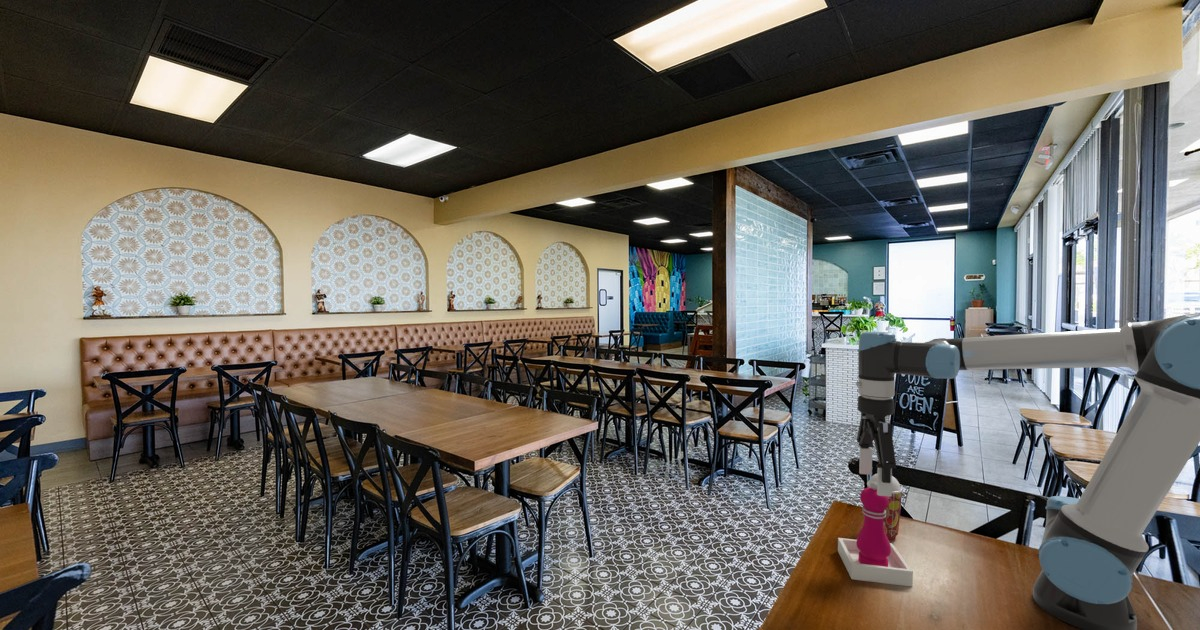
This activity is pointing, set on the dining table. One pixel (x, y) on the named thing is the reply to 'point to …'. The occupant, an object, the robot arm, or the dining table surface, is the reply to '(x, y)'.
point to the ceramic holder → (892, 574)
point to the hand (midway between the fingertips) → (874, 484)
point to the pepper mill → (873, 529)
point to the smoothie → (891, 508)
